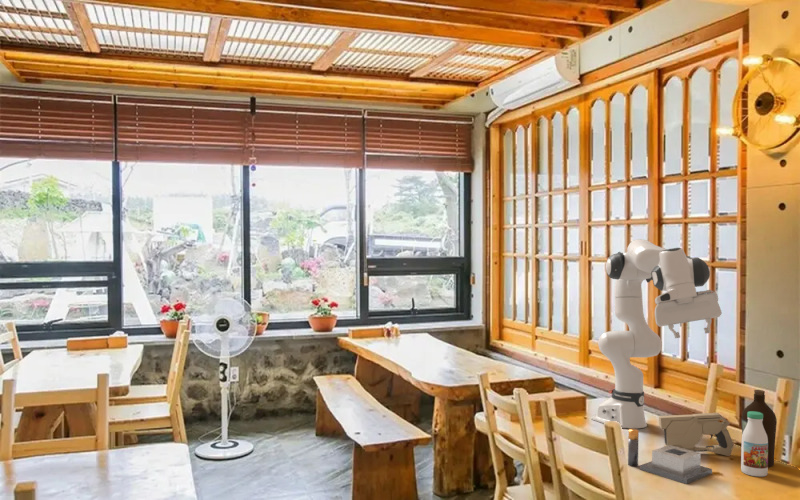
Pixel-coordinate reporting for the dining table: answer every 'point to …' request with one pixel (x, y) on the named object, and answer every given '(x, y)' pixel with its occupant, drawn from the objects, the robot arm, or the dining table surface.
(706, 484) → the dining table surface
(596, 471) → the dining table surface
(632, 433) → the battery
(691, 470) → the block
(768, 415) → the olive oil
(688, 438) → the gun
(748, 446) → the milk bottle
